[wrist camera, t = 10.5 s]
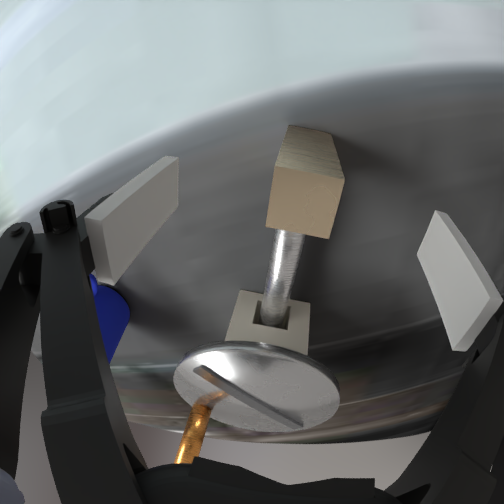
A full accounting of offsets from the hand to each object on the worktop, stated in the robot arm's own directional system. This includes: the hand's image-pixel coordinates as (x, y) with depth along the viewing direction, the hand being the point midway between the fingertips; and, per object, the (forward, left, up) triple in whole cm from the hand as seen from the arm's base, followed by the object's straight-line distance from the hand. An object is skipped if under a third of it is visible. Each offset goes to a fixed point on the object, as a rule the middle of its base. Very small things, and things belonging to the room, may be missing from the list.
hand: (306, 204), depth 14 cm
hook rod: (+11, 0, -10) cm, 15 cm away
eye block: (+19, 0, -10) cm, 21 cm away
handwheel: (+19, 0, 0) cm, 19 cm away
